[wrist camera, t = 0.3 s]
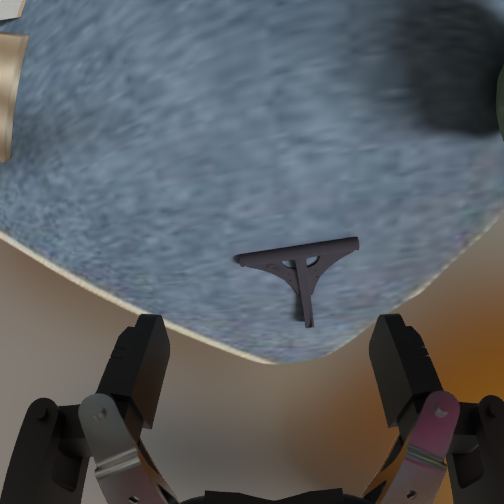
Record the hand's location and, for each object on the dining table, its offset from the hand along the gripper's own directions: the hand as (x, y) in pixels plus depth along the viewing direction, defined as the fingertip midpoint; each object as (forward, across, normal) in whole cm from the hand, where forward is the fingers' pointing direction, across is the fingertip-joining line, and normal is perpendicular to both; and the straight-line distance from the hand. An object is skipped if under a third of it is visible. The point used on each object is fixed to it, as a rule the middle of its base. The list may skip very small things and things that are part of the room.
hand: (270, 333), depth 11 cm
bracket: (+26, -5, +18) cm, 31 cm away
